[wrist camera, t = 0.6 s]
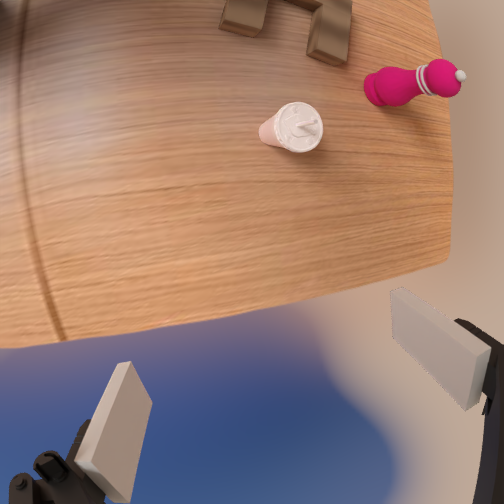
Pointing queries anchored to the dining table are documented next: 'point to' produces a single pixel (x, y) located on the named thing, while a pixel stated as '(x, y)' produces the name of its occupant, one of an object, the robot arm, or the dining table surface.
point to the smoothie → (293, 128)
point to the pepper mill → (413, 83)
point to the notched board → (321, 31)
